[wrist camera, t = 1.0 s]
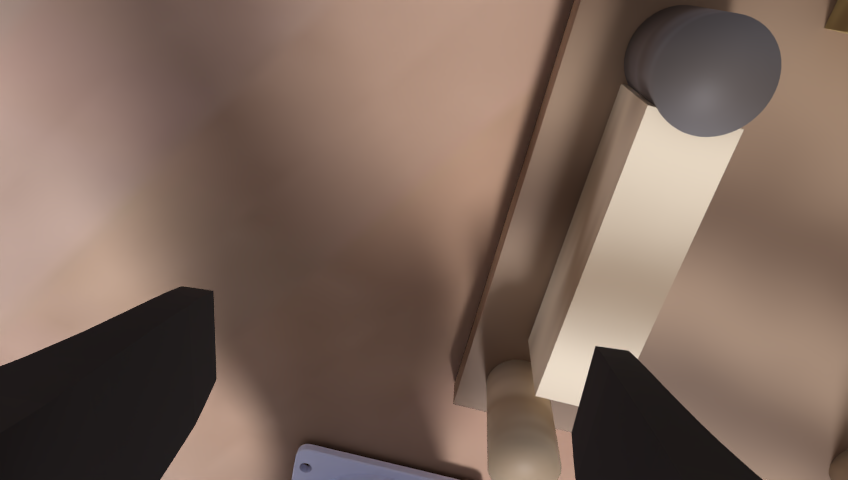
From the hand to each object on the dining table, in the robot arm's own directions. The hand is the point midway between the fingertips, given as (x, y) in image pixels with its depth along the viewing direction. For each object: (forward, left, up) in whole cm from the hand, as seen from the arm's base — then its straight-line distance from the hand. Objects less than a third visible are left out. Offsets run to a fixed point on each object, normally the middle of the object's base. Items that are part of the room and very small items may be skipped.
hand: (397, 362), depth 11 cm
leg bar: (+2, -6, -9) cm, 10 cm away
